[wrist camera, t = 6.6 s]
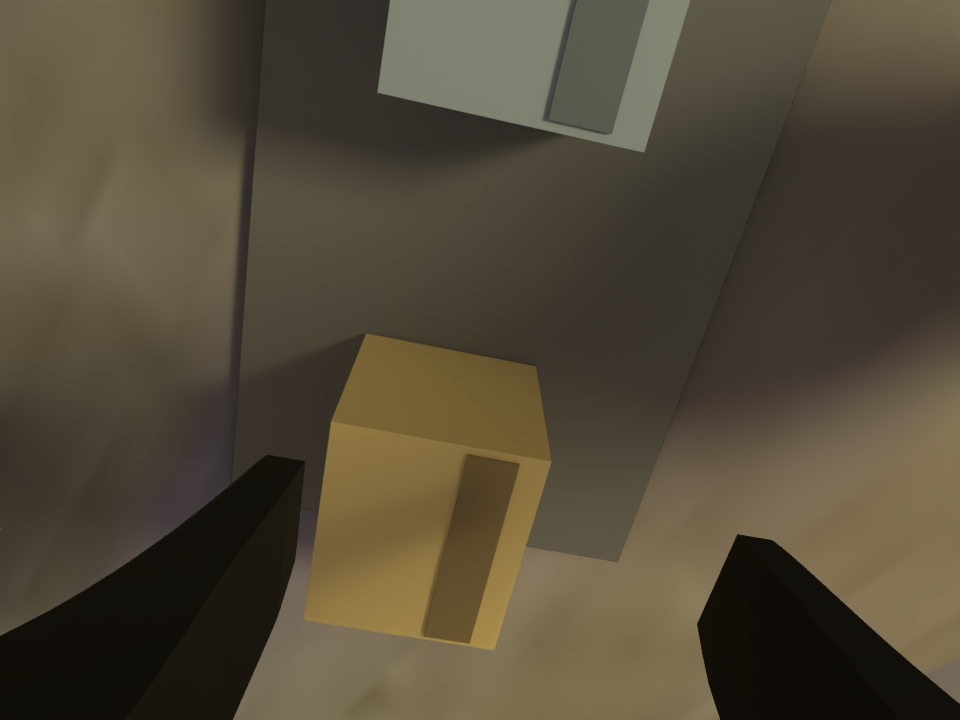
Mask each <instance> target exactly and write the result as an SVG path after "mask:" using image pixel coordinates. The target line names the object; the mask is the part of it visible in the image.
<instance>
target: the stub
mask: <svg viewBox="0 0 960 720" xmlns="http://www.w3.org/2000/svg"><path fill="white" fill-rule="evenodd" d="M551 462H552V461H551V455H550V449H549V443H548V437H547V431H546V424H545V418H544V412H543V406H542V400H541V394H540V388H539V382H538V375H537V369H536V366H531V365H526V364H521V363H516V362H511V361H506V360H501V359H495V358H490V357H485V356H480V355H475V354H470V353H465V352H459V351H454V350H449V349H444V348H439V347H434V346H429V345H423V344H418V343H413V342H408V341H403V340H398V339H392V338H387V337H382V336H377V335H372V334H367V333H366V335H365V338H364V340H363V343H362V345H361V348H360V350H359V353H358V355H357V358H356V360H355V363H354V365H353V368H352V370H351V373H350V375H349V378H348V380H347V383H346V385H345V388H344V390H343V393H342V396H341V398H340V401H339V403H338V406H337V408H336V411H335V413H334V416H333V418H332V421H331V426H330V434H329V441H328V448H327V455H326V462H325V470H324V477H323V484H322V491H321V499H320V506H319V513H318V520H317V527H316V535H315V542H314V549H313V556H312V564H311V571H310V578H309V585H308V593H307V600H306V607H305V614H304V621H311V622H317V623H323V624H330V625H336V626H342V627H349V628H355V629H362V630H368V631H374V632H381V633H387V634H393V635H400V636H406V637H412V638H419V639H425V640H431V641H438V642H444V643H450V644H457V645H463V646H470V647H476V648H482V649H489V650H495V646H496V643H497V640H498V636H499V633H500V630H501V627H502V623H503V620H504V617H505V613H506V610H507V607H508V604H509V600H510V597H511V594H512V590H513V587H514V584H515V580H516V577H517V574H518V571H519V567H520V564H521V561H522V557H523V554H524V551H525V548H526V544H527V541H528V538H529V534H530V531H531V528H532V525H533V521H534V518H535V515H536V511H537V508H538V505H539V502H540V498H541V495H542V492H543V488H544V485H545V482H546V478H547V475H548V472H549V469H550V465H551Z"/></svg>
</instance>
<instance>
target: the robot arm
mask: <svg viewBox="0 0 960 720" xmlns="http://www.w3.org/2000/svg"><path fill="white" fill-rule="evenodd" d="M305 462H306V461H302V460H296V459H290V458H284V457H279V456H273V455H266V456H264V457H263V458H261V459H260V460H258V461H257V462H256V463H255V464H254V465H253V466H252V467H250V468H249V469H248V470H247V471H246V472H245V473H244V474H242V475H241V476H240V477H239V478H238V479H237V480H236V481H234V482H233V483H232V484H231V485H230V486H229V487H227V488H226V489H225V490H224V491H222V492H221V493H220V494H219V495H218V496H216V497H215V498H214V499H213V500H212V501H210V502H209V503H208V504H207V505H205V506H204V507H203V508H202V509H200V510H199V511H198V512H196V513H195V514H194V515H193V516H191V517H190V518H189V519H187V520H186V521H185V522H184V523H182V524H181V525H180V526H178V527H177V528H176V529H175V530H173V531H172V532H171V533H169V534H168V535H166V536H165V537H164V538H162V539H161V540H159V541H158V542H156V543H155V544H154V545H152V546H151V547H149V548H148V549H146V550H145V551H144V552H142V553H141V554H139V555H138V556H136V557H135V558H134V559H132V560H131V561H129V562H128V563H126V564H125V565H123V566H122V567H120V568H119V569H117V570H116V571H114V572H113V573H111V574H110V575H108V576H107V577H105V578H103V579H102V580H100V581H99V582H97V583H95V584H94V585H92V586H91V587H89V588H87V589H86V590H84V591H82V592H81V593H79V594H77V595H75V596H74V597H72V598H70V599H69V600H67V601H65V602H64V603H62V604H60V605H58V606H57V607H55V608H53V609H51V610H50V611H48V612H46V613H44V614H42V615H40V616H38V617H36V618H35V619H33V620H31V621H29V622H27V623H25V624H23V625H21V626H19V627H17V628H15V629H13V630H11V631H9V632H7V633H5V634H3V635H1V636H0V720H233V718H234V716H235V713H236V711H237V709H238V707H239V704H240V702H241V700H242V697H243V695H244V693H245V691H246V688H247V686H248V684H249V682H250V679H251V677H252V675H253V673H254V670H255V668H256V666H257V663H258V661H259V659H260V657H261V654H262V652H263V650H264V647H265V645H266V643H267V641H268V638H269V636H270V634H271V631H272V629H273V627H274V624H275V622H276V620H277V617H278V614H279V611H280V608H281V604H282V601H283V598H284V595H285V592H286V588H287V585H288V582H289V579H290V575H291V572H292V569H293V565H294V562H295V556H296V547H297V537H298V528H299V519H300V509H301V500H302V490H303V481H304V471H305ZM697 626H698V632H699V637H700V643H701V649H702V654H703V659H704V664H705V669H706V673H707V678H708V683H709V686H710V689H711V693H712V696H713V699H714V702H715V705H716V708H717V711H718V714H719V717H720V720H960V704H959V703H958V702H957V701H955V700H954V699H953V698H952V697H950V696H949V695H948V694H947V693H946V692H945V691H943V690H942V689H941V688H940V687H939V686H937V685H936V684H935V683H934V682H933V681H931V680H930V679H929V678H928V677H927V676H925V675H924V674H923V673H922V672H921V671H919V670H918V669H917V668H916V667H915V666H913V665H912V664H911V663H910V662H909V661H908V660H907V659H905V658H904V657H903V656H902V655H901V654H900V653H899V652H897V651H896V650H895V649H894V648H893V647H892V646H891V645H889V644H888V643H887V642H886V641H885V640H884V639H883V638H882V637H880V636H879V635H878V634H877V633H876V632H875V631H874V630H873V629H872V628H870V627H869V626H868V625H867V624H866V623H865V622H864V621H863V620H862V619H860V618H859V617H858V616H857V615H856V614H855V613H854V612H853V611H852V610H851V609H850V608H848V607H847V606H846V605H845V604H844V603H843V602H842V601H841V600H840V599H839V598H838V597H837V596H835V595H834V594H833V593H832V592H831V591H830V590H829V589H828V588H827V587H826V586H825V585H824V584H822V583H821V582H820V581H819V580H818V579H817V578H816V577H815V576H814V575H813V574H811V573H810V572H809V571H808V570H807V569H806V568H805V567H804V566H803V565H801V564H800V563H799V562H798V561H797V560H796V559H795V558H794V557H792V556H791V555H790V554H789V553H788V552H787V551H785V550H784V549H783V548H782V547H780V546H779V545H778V544H777V543H775V542H774V541H773V540H768V539H762V538H756V537H750V536H745V535H739V534H737V537H736V539H735V541H734V543H733V545H732V548H731V550H730V552H729V554H728V557H727V559H726V561H725V563H724V565H723V568H722V570H721V572H720V574H719V577H718V579H717V581H716V583H715V585H714V588H713V590H712V592H711V594H710V597H709V599H708V601H707V603H706V605H705V608H704V610H703V612H702V614H701V617H700V619H699V621H698V623H697Z"/></svg>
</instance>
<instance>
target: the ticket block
mask: <svg viewBox="0 0 960 720" xmlns="http://www.w3.org/2000/svg"><path fill="white" fill-rule="evenodd" d="M689 3H690V0H390V5H389V13H388V20H387V27H386V34H385V41H384V49H383V56H382V63H381V70H380V77H379V85H378V92H377V93H381V94H386V95H390V96H395V97H399V98H403V99H408V100H412V101H417V102H421V103H426V104H430V105H435V106H439V107H444V108H448V109H452V110H457V111H461V112H466V113H470V114H475V115H479V116H484V117H488V118H493V119H497V120H501V121H506V122H510V123H515V124H519V125H524V126H528V127H533V128H537V129H542V130H546V131H550V132H555V133H559V134H564V135H568V136H573V137H577V138H582V139H586V140H591V141H595V142H599V143H604V144H608V145H613V146H617V147H622V148H626V149H631V150H635V151H640V152H644V151H645V148H646V145H647V141H648V138H649V135H650V132H651V128H652V125H653V122H654V118H655V115H656V112H657V108H658V105H659V102H660V99H661V95H662V92H663V89H664V85H665V82H666V79H667V75H668V72H669V69H670V66H671V62H672V59H673V56H674V52H675V49H676V46H677V42H678V39H679V36H680V33H681V29H682V26H683V23H684V19H685V16H686V13H687V9H688V6H689Z"/></svg>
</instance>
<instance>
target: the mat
mask: <svg viewBox="0 0 960 720" xmlns="http://www.w3.org/2000/svg"><path fill="white" fill-rule="evenodd" d="M830 3H831V0H690V3H689V6H688V9H687V13H686V16H685V19H684V23H683V26H682V29H681V33H680V36H679V39H678V42H677V46H676V49H675V52H674V56H673V59H672V62H671V66H670V69H669V72H668V75H667V79H666V82H665V85H664V89H663V92H662V95H661V99H660V102H659V105H658V108H657V112H656V115H655V118H654V122H653V125H652V128H651V132H650V135H649V138H648V141H647V145H646V148H645V151H644V152H640V151H635V150H631V149H626V148H622V147H617V146H613V145H608V144H604V143H599V142H595V141H591V140H586V139H582V138H577V137H573V136H568V135H564V134H559V133H555V132H550V131H546V130H542V129H537V128H533V127H528V126H524V125H519V124H515V123H510V122H506V121H501V120H497V119H493V118H488V117H484V116H479V115H475V114H470V113H466V112H461V111H457V110H452V109H448V108H444V107H439V106H435V105H430V104H426V103H421V102H417V101H412V100H408V99H403V98H399V97H395V96H390V95H386V94H381V93H377V92H378V85H379V77H380V70H381V63H382V56H383V49H384V41H385V34H386V27H387V20H388V13H389V5H390V0H266V4H265V19H264V33H263V47H262V61H261V75H260V89H259V103H258V118H257V132H256V146H255V160H254V174H253V188H252V202H251V217H250V231H249V245H248V259H247V273H246V287H245V302H244V316H243V330H242V344H241V358H240V372H239V386H238V401H237V415H236V429H235V443H234V457H233V471H232V483H233V482H234V481H236V480H237V479H238V478H239V477H240V476H241V475H242V474H244V473H245V472H246V471H247V470H248V469H249V468H250V467H252V466H253V465H254V464H255V463H256V462H257V461H258V460H260V459H261V458H263V457H264V456H266V455H273V456H279V457H284V458H290V459H296V460H302V461H306V462H305V471H304V481H303V490H302V500H301V508H304V509H310V510H316V511H319V506H320V499H321V491H322V484H323V477H324V470H325V462H326V455H327V448H328V441H329V434H330V426H331V421H332V418H333V416H334V413H335V411H336V408H337V406H338V403H339V401H340V398H341V396H342V393H343V390H344V388H345V385H346V383H347V380H348V378H349V375H350V373H351V370H352V368H353V365H354V363H355V360H356V358H357V355H358V353H359V350H360V348H361V345H362V343H363V340H364V338H365V335H366V333H367V334H372V335H377V336H382V337H387V338H392V339H398V340H403V341H408V342H413V343H418V344H423V345H429V346H434V347H439V348H444V349H449V350H454V351H459V352H465V353H470V354H475V355H480V356H485V357H490V358H495V359H501V360H506V361H511V362H516V363H521V364H526V365H531V366H536V369H537V375H538V382H539V388H540V394H541V400H542V406H543V412H544V418H545V424H546V431H547V437H548V443H549V449H550V455H551V461H552V462H551V465H550V469H549V472H548V475H547V478H546V482H545V485H544V488H543V492H542V495H541V498H540V502H539V505H538V508H537V511H536V515H535V518H534V521H533V525H532V528H531V531H530V534H529V538H528V541H527V544H526V547H532V548H538V549H544V550H550V551H556V552H561V553H567V554H573V555H579V556H585V557H591V558H597V559H602V560H608V561H614V562H618V560H619V558H620V555H621V552H622V550H623V547H624V544H625V542H626V539H627V537H628V534H629V531H630V529H631V526H632V523H633V521H634V518H635V515H636V513H637V510H638V508H639V505H640V502H641V500H642V497H643V494H644V492H645V489H646V487H647V484H648V481H649V479H650V476H651V473H652V471H653V468H654V466H655V463H656V460H657V458H658V455H659V452H660V450H661V447H662V444H663V442H664V439H665V437H666V434H667V431H668V429H669V426H670V423H671V421H672V418H673V416H674V413H675V410H676V408H677V405H678V402H679V400H680V397H681V395H682V392H683V389H684V387H685V384H686V381H687V379H688V376H689V373H690V371H691V368H692V366H693V363H694V360H695V358H696V355H697V352H698V350H699V347H700V345H701V342H702V339H703V337H704V334H705V331H706V329H707V326H708V324H709V321H710V318H711V316H712V313H713V310H714V308H715V305H716V302H717V300H718V297H719V295H720V292H721V289H722V287H723V284H724V281H725V279H726V276H727V274H728V271H729V268H730V266H731V263H732V260H733V258H734V255H735V253H736V250H737V247H738V245H739V242H740V239H741V237H742V234H743V231H744V229H745V226H746V224H747V221H748V218H749V216H750V213H751V210H752V208H753V205H754V203H755V200H756V197H757V195H758V192H759V189H760V187H761V184H762V182H763V179H764V176H765V174H766V171H767V168H768V166H769V163H770V160H771V158H772V155H773V153H774V150H775V147H776V145H777V142H778V139H779V137H780V134H781V132H782V129H783V126H784V124H785V121H786V118H787V116H788V113H789V111H790V108H791V105H792V103H793V100H794V97H795V95H796V92H797V89H798V87H799V84H800V82H801V79H802V76H803V74H804V71H805V68H806V66H807V63H808V61H809V58H810V55H811V53H812V50H813V47H814V45H815V42H816V40H817V37H818V34H819V32H820V29H821V26H822V24H823V21H824V18H825V16H826V13H827V11H828V8H829V5H830Z"/></svg>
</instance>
